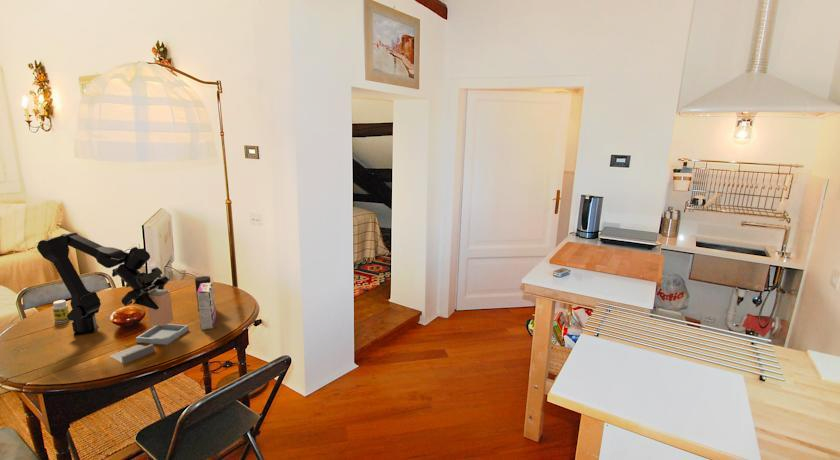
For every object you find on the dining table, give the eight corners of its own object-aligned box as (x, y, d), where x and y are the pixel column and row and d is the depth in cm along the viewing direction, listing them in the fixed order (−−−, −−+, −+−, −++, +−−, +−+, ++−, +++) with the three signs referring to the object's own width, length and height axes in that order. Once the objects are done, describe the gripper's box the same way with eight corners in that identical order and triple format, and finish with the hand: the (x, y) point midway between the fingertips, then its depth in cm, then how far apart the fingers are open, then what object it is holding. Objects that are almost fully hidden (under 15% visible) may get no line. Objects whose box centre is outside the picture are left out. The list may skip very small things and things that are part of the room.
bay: (109, 356, 145) (107, 349, 145) (139, 344, 154) (138, 337, 153) (124, 364, 141) (123, 357, 140) (154, 352, 149) (153, 344, 148)
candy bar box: (203, 319, 176) (200, 283, 173) (216, 317, 178) (213, 281, 174) (200, 330, 166) (196, 292, 163) (213, 328, 168) (210, 291, 164)
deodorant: (215, 309, 186) (212, 278, 182) (201, 313, 182) (197, 281, 178) (209, 306, 190) (207, 275, 186) (196, 309, 185) (192, 278, 182)
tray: (136, 343, 155) (135, 337, 154) (160, 328, 167) (159, 323, 166) (167, 345, 154) (166, 340, 153) (188, 330, 166) (188, 325, 165)
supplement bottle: (53, 323, 169) (49, 304, 167) (56, 319, 173) (53, 300, 171) (68, 321, 171) (64, 302, 169) (71, 317, 175) (68, 298, 173)
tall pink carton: (149, 324, 157) (145, 293, 154) (159, 319, 162) (155, 288, 159) (164, 326, 156) (160, 294, 153) (173, 320, 161) (169, 289, 158)
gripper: (124, 271, 145) (157, 302, 146) (162, 256, 163) (191, 284, 164) (107, 290, 147) (139, 321, 149) (146, 274, 166) (174, 301, 167)
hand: (162, 306), depth 157 cm, fingers closed on tall pink carton, 5 cm apart
